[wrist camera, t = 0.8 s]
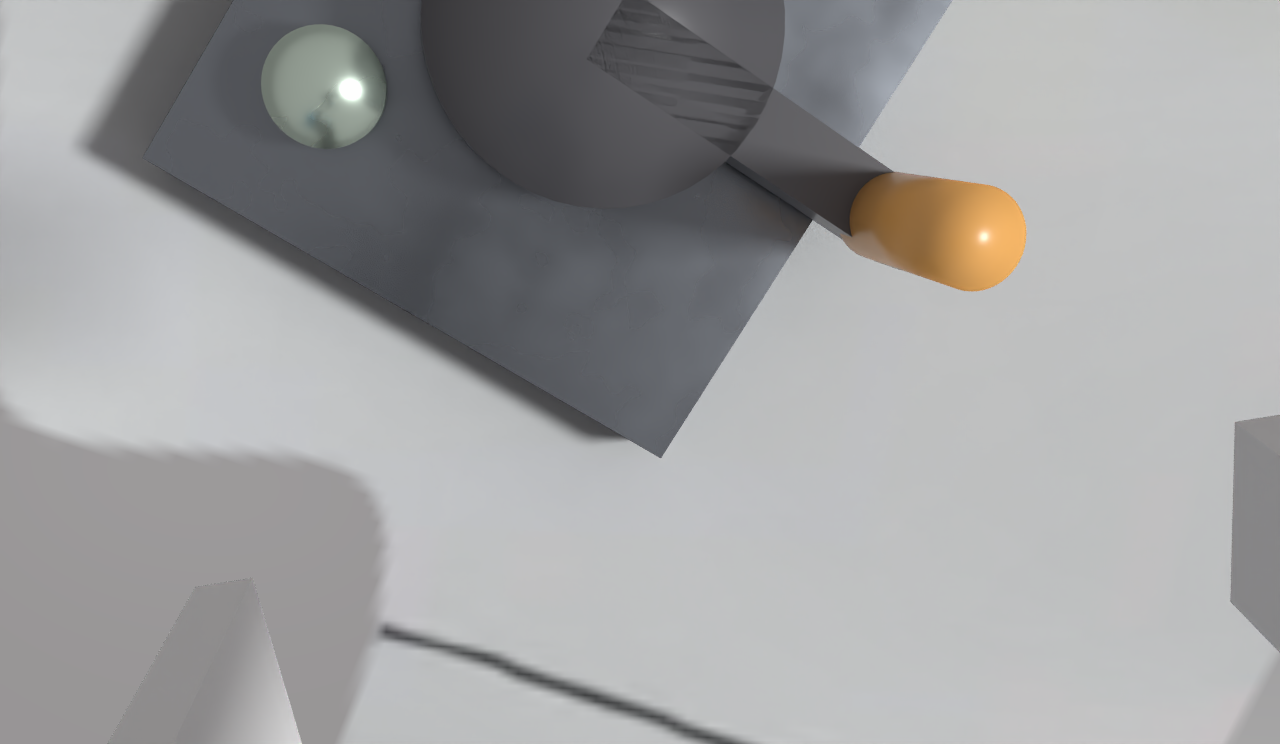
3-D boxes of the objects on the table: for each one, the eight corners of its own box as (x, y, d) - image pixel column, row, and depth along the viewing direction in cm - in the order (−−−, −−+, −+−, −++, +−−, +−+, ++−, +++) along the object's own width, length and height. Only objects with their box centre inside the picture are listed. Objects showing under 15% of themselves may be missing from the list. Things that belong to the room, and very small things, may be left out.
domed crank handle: (353, 81, 31) (337, 75, 24) (539, -233, 30) (575, -328, 24) (812, 368, 35) (907, 432, 28) (987, 96, 34) (1128, 95, 27)
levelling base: (648, 439, 37) (670, 472, 34) (158, 154, 33) (129, 160, 30) (976, -78, 36) (1033, -97, 32) (505, -446, 32) (516, -509, 28)
